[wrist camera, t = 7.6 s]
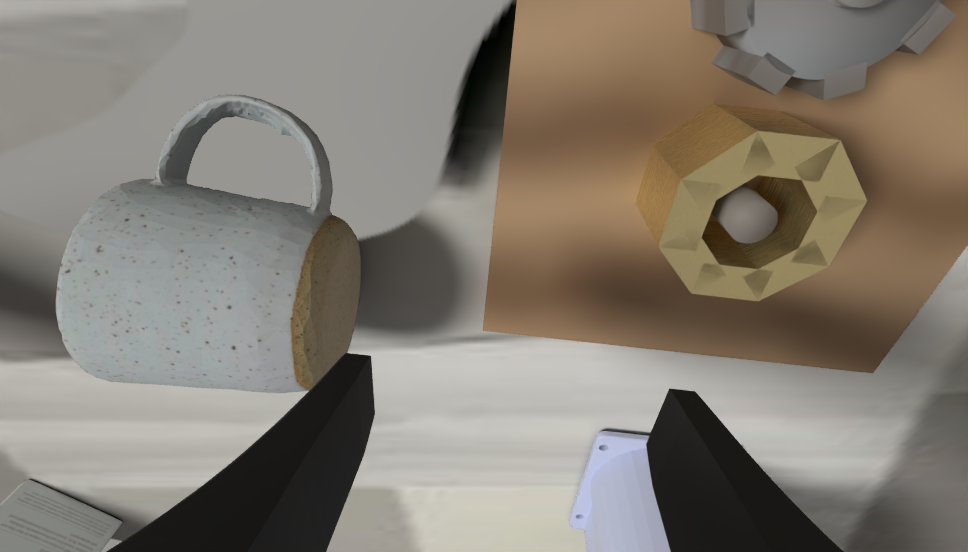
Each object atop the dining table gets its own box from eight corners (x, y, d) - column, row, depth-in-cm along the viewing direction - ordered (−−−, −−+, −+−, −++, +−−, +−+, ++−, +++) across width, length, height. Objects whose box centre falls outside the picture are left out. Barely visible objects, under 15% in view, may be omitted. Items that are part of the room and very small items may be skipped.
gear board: (856, 355, 22) (932, 438, 18) (484, 315, 22) (476, 387, 18) (1202, -143, 12) (1533, -206, 8) (538, -203, 13) (546, -294, 9)
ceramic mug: (371, 323, 23) (313, 451, 17) (210, 301, 23) (88, 421, 17) (368, 104, 18) (279, 167, 11) (156, 76, 18) (-60, 122, 11)
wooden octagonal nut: (759, 255, 18) (805, 306, 15) (624, 239, 18) (644, 288, 15) (826, 115, 15) (899, 146, 12) (665, 97, 15) (700, 124, 12)
